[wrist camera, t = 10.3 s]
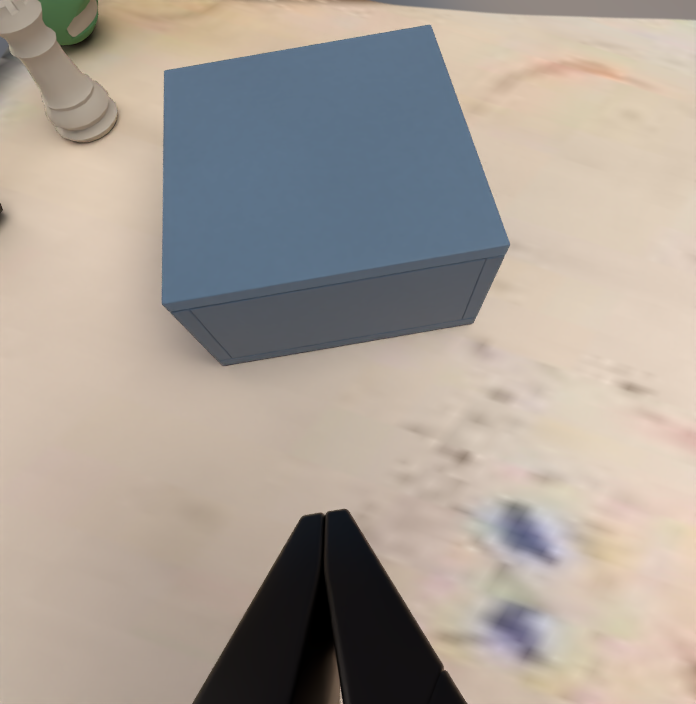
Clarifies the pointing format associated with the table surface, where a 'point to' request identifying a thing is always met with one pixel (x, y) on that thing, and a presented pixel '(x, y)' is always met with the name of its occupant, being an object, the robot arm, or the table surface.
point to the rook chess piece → (56, 74)
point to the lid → (318, 170)
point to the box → (342, 312)
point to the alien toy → (70, 19)
